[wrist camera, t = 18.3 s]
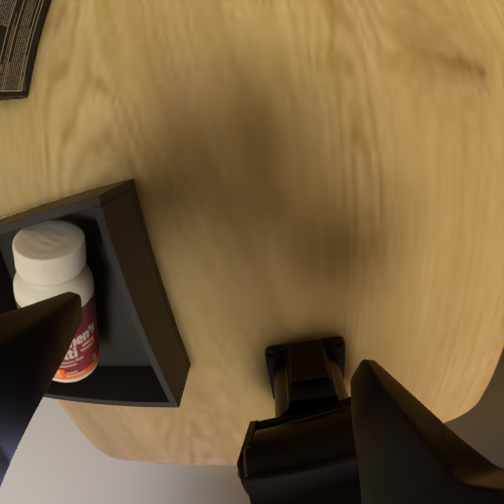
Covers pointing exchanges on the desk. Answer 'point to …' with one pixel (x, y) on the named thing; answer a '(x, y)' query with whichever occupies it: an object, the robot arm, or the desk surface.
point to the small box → (18, 44)
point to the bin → (113, 300)
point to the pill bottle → (59, 285)
